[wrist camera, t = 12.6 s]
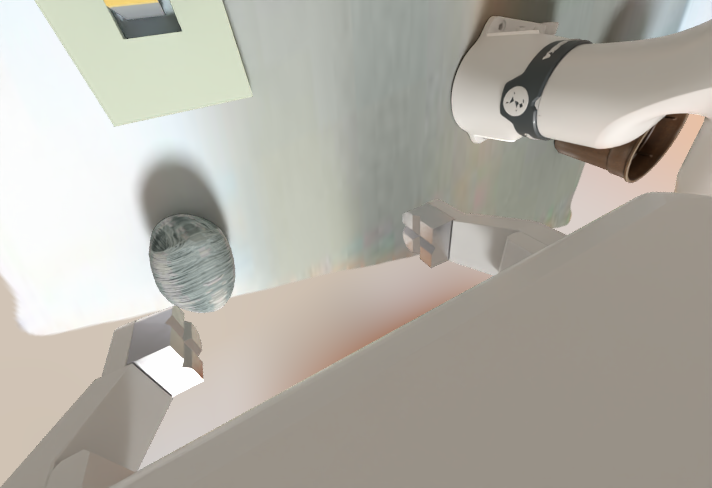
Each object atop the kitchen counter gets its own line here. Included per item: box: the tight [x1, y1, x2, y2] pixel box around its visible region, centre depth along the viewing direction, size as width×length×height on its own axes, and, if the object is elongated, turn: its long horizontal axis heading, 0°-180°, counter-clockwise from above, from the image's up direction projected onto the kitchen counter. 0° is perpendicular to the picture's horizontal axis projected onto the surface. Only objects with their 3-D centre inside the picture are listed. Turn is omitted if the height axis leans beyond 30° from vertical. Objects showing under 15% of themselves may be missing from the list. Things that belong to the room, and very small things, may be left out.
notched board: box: [35, 0, 253, 127], centre depth 27 cm, size 14×12×2 cm
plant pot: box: [555, 113, 689, 183], centre depth 59 cm, size 16×16×16 cm
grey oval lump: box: [149, 214, 235, 313], centre depth 36 cm, size 14×10×10 cm
